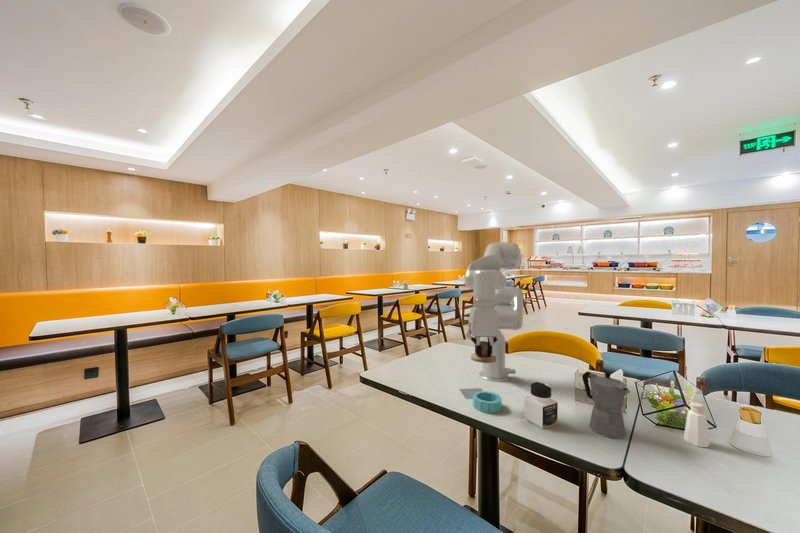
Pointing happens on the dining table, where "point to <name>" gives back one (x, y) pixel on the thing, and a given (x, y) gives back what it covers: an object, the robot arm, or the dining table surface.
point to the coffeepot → (606, 404)
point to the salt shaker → (696, 426)
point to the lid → (483, 354)
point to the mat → (469, 392)
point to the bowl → (487, 402)
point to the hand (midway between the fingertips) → (483, 355)
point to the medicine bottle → (541, 406)
